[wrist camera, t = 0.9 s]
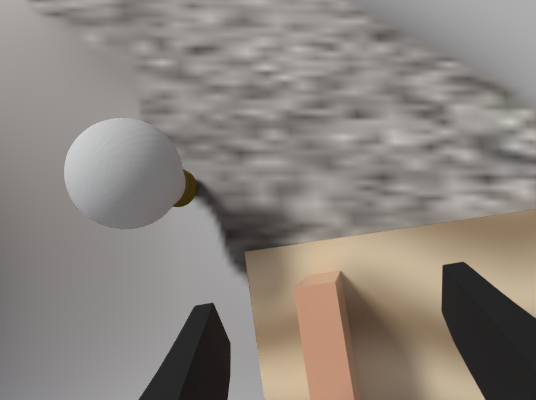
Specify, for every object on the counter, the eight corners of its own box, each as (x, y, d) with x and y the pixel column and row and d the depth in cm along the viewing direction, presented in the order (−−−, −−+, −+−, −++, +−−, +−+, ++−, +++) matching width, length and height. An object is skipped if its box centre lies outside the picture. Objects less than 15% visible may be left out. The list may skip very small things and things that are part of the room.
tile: (362, 405, 22) (365, 464, 17) (329, 407, 23) (320, 465, 17) (340, 270, 24) (335, 282, 18) (308, 274, 24) (293, 287, 18)
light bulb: (225, 149, 27) (151, 99, 17) (220, 233, 26) (140, 231, 16) (150, 149, 28) (41, 103, 18) (144, 228, 28) (29, 224, 18)
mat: (595, 427, 20) (602, 433, 20) (272, 439, 24) (270, 444, 24) (543, 208, 22) (548, 207, 21) (247, 251, 26) (244, 251, 25)
